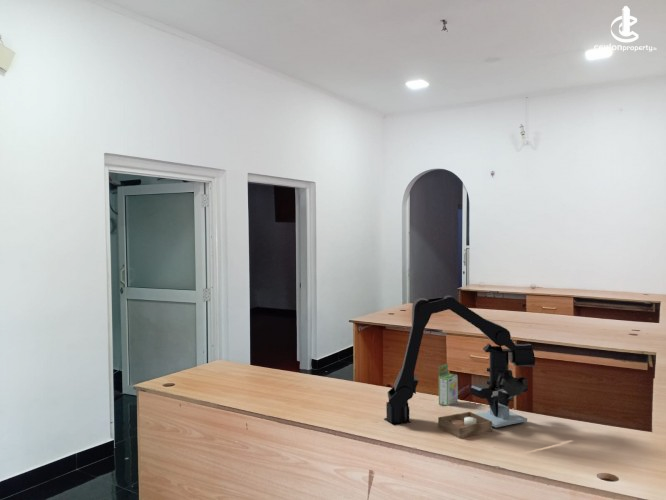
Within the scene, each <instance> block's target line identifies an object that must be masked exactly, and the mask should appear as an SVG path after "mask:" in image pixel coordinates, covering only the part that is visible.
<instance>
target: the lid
mask: <svg viewBox="0 0 666 500" xmlns="http://www.w3.org/2000/svg"><path fill="white" fill-rule="evenodd" d="M475 414H476V415H478V416H481V417H483V418H485V419H487V420H490V421H492V427H494V428H501V427H504V426H509V425H514V424H519V423H524V422H525V423H526V422H528V418H527V417H525V416H522V415H520V414H517V413H514V412H512V411H510V407H509V406H505V405H502V404H499V402H498V416H497V417H496V416H494V414H493V412H492V410H491V408H490V407H489V410H488V411H487V410H486V411H482V412H476V413H475Z"/></svg>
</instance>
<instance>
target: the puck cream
mask: <svg viewBox="0 0 666 500" xmlns="http://www.w3.org/2000/svg"><path fill="white" fill-rule="evenodd" d="M472 424H476V418H473V417H465V418H464V426H467V425H472Z"/></svg>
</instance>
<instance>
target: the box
mask: <svg viewBox="0 0 666 500" xmlns="http://www.w3.org/2000/svg"><path fill="white" fill-rule="evenodd" d="M465 417H473V418H476V424H472V425H467V426H462V427H459V426H457V425H455V424H453V423H452V421H453V420H461V421H464V418H465ZM437 421H438V423H437V424H438V426H437V427H438V428H439V429H441V430H443V431H444V432H447V433H448V434H450V435H452V436H454V437H456V438H458V439H464V438H469V437H474V436H478V435H482V434H488V433H491V432H493V426H492V421H490V420H487V419H485V418H483V417H481V416H478V415H476V413H473V412H471V411H465V412H460V413H455V414H454V413H453V414H450V415H444V416H439V417H438V420H437Z"/></svg>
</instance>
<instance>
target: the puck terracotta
mask: <svg viewBox="0 0 666 500" xmlns="http://www.w3.org/2000/svg"><path fill="white" fill-rule="evenodd" d="M452 423H453V424H455V425H457V426H459V427H462V426H464V421H461V420H453V421H452Z"/></svg>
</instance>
